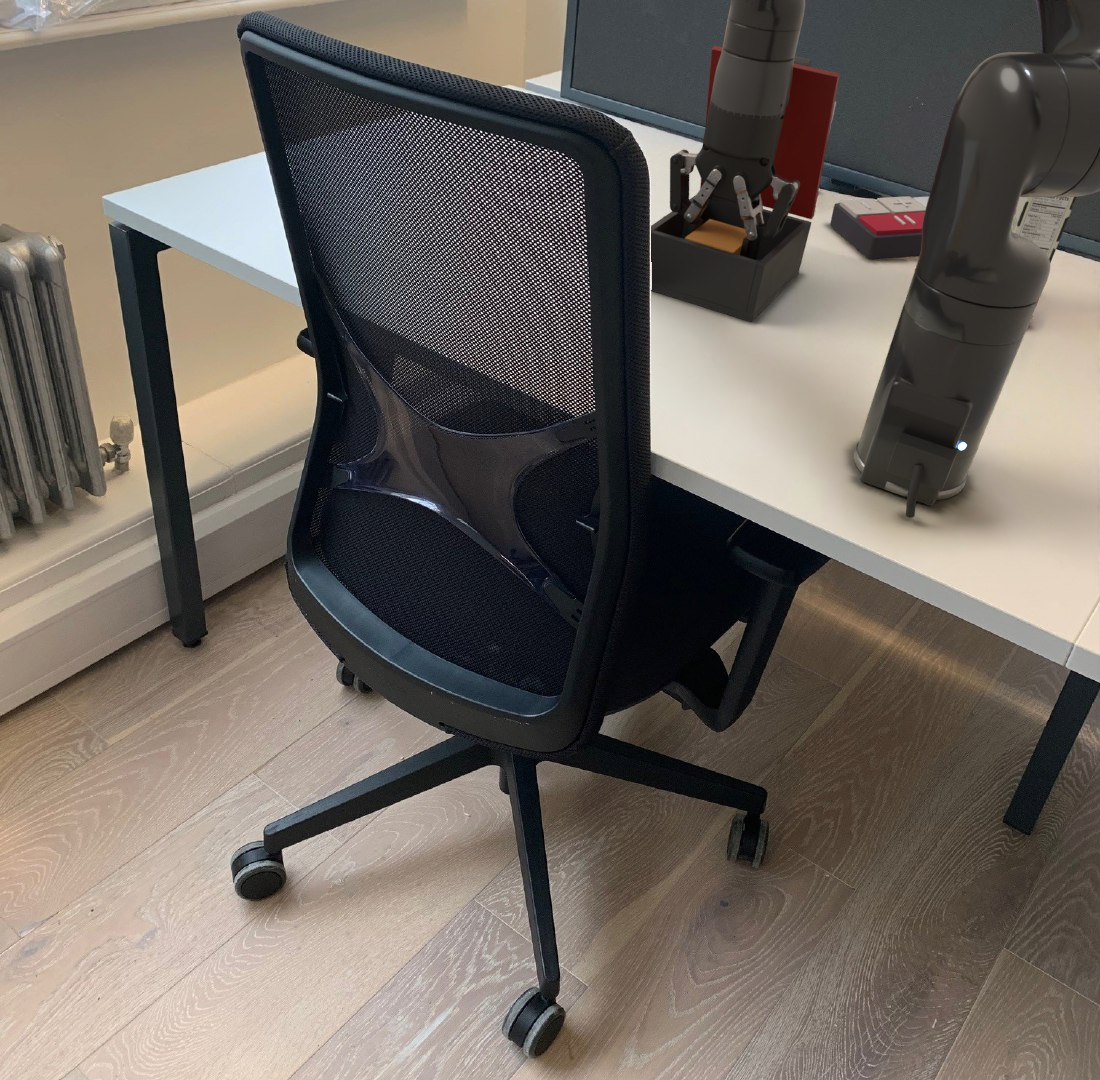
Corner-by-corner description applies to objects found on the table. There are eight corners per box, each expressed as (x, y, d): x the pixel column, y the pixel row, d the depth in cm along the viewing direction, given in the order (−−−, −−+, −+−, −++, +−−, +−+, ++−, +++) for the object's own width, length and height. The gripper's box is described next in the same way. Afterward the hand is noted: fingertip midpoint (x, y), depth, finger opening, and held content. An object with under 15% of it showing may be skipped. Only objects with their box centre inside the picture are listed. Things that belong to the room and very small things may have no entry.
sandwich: (727, 284, 111) (733, 252, 109) (679, 269, 113) (684, 237, 111) (750, 263, 116) (757, 232, 114) (703, 249, 118) (709, 218, 116)
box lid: (837, 77, 104) (855, 53, 107) (711, 48, 108) (732, 26, 111) (811, 219, 117) (828, 195, 119) (699, 189, 121) (718, 166, 124)
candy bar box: (968, 280, 124) (1019, 140, 114) (1011, 287, 124) (1066, 147, 114) (980, 320, 115) (1036, 172, 105) (1026, 328, 115) (1087, 180, 105)
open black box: (751, 322, 110) (764, 265, 106) (635, 285, 114) (644, 230, 110) (798, 274, 121) (811, 221, 117) (691, 243, 125) (700, 191, 122)
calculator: (834, 197, 132) (939, 191, 135) (827, 229, 135) (930, 223, 138) (875, 231, 124) (987, 224, 127) (867, 265, 127) (976, 257, 130)
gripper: (667, 92, 103) (642, 254, 114) (805, 126, 99) (766, 292, 109) (697, 78, 109) (670, 234, 119) (829, 109, 104) (789, 269, 114)
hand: (716, 261), depth 114 cm, fingers closed on sandwich, 5 cm apart
